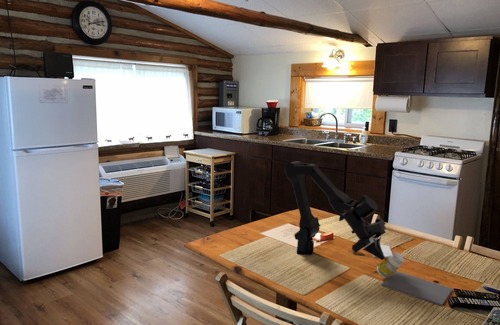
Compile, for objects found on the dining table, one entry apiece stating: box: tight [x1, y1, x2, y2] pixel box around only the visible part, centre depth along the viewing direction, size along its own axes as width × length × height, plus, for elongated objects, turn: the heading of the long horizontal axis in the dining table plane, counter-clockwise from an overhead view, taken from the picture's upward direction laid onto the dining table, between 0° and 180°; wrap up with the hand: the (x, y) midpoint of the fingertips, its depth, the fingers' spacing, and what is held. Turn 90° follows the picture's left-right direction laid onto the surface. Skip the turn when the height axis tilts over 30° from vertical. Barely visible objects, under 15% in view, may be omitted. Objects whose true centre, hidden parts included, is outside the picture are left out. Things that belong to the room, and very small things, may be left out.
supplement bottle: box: [376, 252, 405, 279], centre depth 142 cm, size 5×5×10 cm
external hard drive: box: [372, 244, 394, 259], centre depth 167 cm, size 2×8×12 cm
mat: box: [380, 270, 453, 307], centre depth 137 cm, size 20×14×1 cm
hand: (383, 259), depth 144 cm, fingers closed
